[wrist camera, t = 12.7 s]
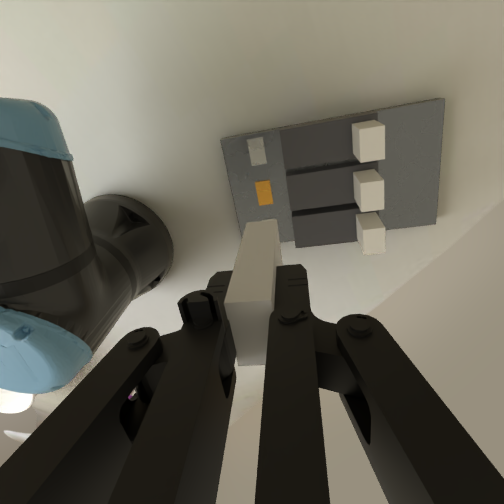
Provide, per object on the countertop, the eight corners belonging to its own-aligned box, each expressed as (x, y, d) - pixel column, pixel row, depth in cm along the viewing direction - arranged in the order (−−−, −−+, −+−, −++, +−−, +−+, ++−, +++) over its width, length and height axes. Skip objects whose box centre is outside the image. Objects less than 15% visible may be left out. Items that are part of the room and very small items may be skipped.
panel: (245, 241, 45) (243, 247, 44) (222, 137, 39) (220, 140, 38) (431, 219, 41) (436, 224, 39) (439, 98, 35) (445, 98, 33)
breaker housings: (295, 241, 43) (295, 267, 37) (280, 128, 36) (277, 137, 30) (375, 231, 41) (389, 257, 35) (373, 110, 34) (389, 117, 29)
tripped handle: (354, 198, 37) (361, 212, 33) (353, 172, 36) (360, 183, 32) (374, 195, 36) (384, 209, 32) (374, 168, 35) (384, 180, 31)
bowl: (-36, 313, 59) (-80, 345, 52) (44, 314, 56) (9, 347, 49) (2, 376, 66) (-32, 411, 59) (74, 379, 64) (47, 416, 57)
